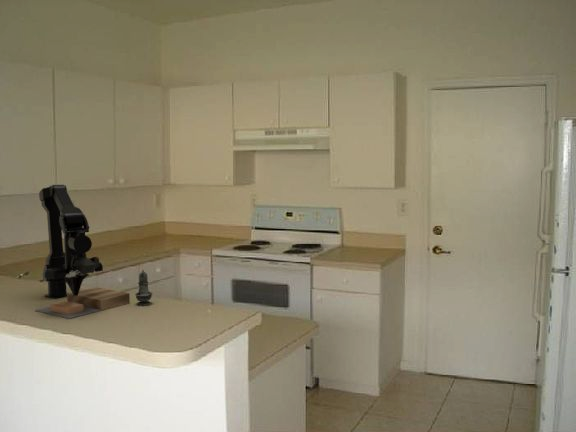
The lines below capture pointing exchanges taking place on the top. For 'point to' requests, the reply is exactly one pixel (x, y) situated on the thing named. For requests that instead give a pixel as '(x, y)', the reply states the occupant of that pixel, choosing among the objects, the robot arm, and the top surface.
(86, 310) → the mat
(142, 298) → the dark grey chess piece
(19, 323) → the top surface
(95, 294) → the board
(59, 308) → the tile
